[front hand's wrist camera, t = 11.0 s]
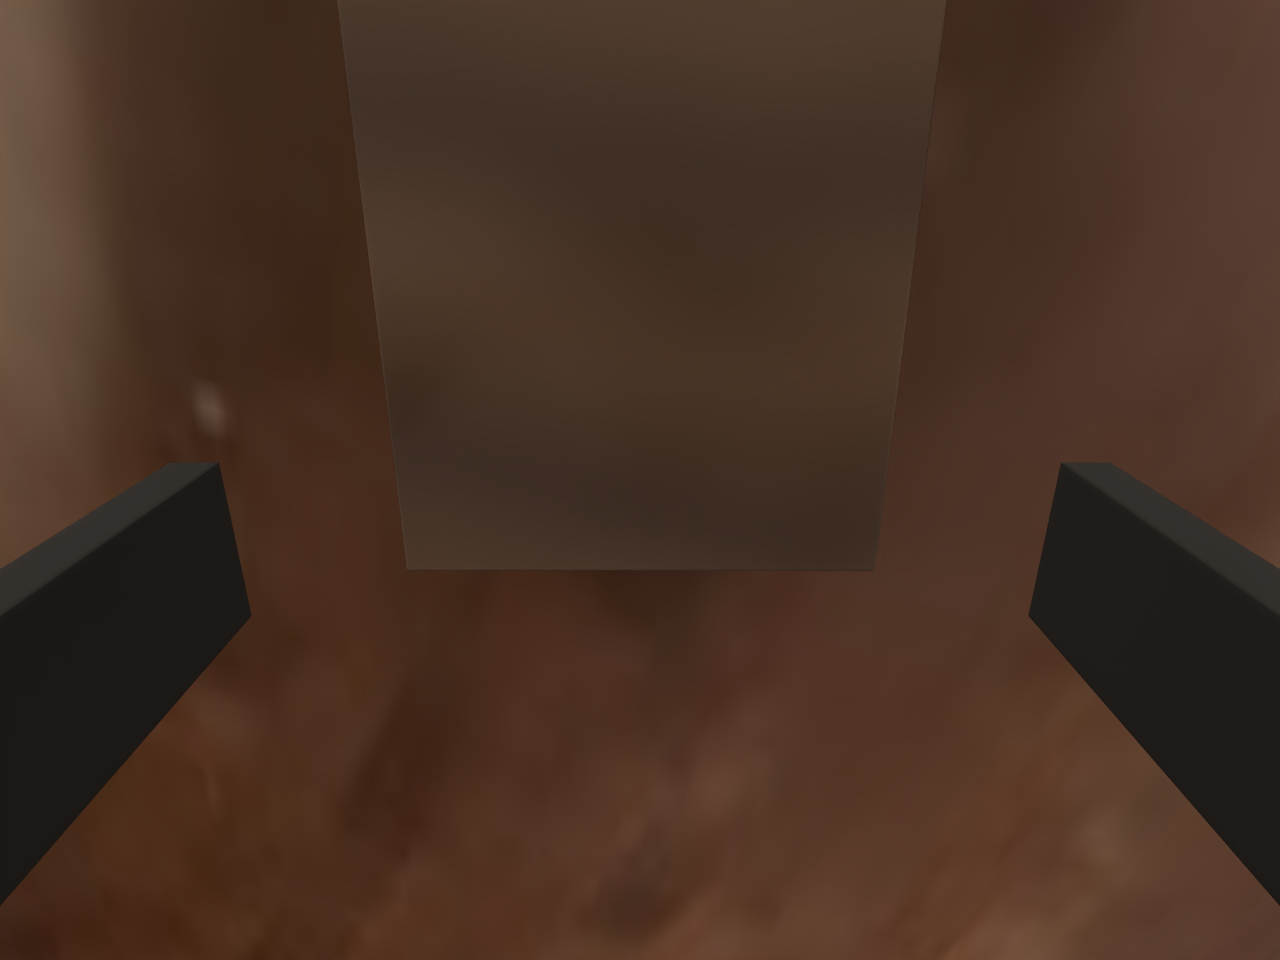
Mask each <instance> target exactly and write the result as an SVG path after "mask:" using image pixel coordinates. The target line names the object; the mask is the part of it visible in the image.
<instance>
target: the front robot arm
mask: <svg viewBox="0 0 1280 960" xmlns="http://www.w3.org/2000/svg"><path fill="white" fill-rule="evenodd" d="M250 617H251V611H250V607H249V602H248V597H247V593H246V588H245V583H244V579H243V574H242V569H241V564H240V560H239V555H238V550H237V546H236V541H235V536H234V532H233V527H232V522H231V517H230V513H229V508H228V503H227V499H226V494H225V489H224V485H223V480H222V475H221V471H220V466H219V463H169V464H167V465H165V466H164V467H162V468H161V469H159V470H158V471H156V472H154V473H153V474H151V475H150V476H148V477H146V478H145V479H143V480H142V481H140V482H138V483H137V484H135V485H134V486H132V487H130V488H129V489H127V490H126V491H124V492H123V493H121V494H119V495H118V496H116V497H115V498H113V499H111V500H110V501H108V502H107V503H105V504H103V505H102V506H100V507H99V508H97V509H95V510H94V511H92V512H91V513H89V514H88V515H86V516H84V517H83V518H81V519H80V520H78V521H76V522H75V523H73V524H72V525H70V526H68V527H67V528H65V529H64V530H62V531H60V532H59V533H57V534H56V535H54V536H53V537H51V538H49V539H48V540H46V541H45V542H43V543H41V544H40V545H38V546H37V547H35V548H33V549H32V550H30V551H29V552H27V553H26V554H24V555H22V556H21V557H19V558H18V559H16V560H14V561H13V562H11V563H10V564H8V565H6V566H5V567H3V568H2V569H0V905H1V904H2V903H3V902H4V901H5V900H6V899H7V897H8V896H9V895H10V894H11V893H12V892H13V890H14V889H15V888H16V887H17V886H18V885H19V884H20V882H21V881H22V880H23V879H24V878H25V877H26V875H27V874H28V873H29V872H30V871H31V870H32V869H33V867H34V866H35V865H36V864H37V863H38V862H39V860H40V859H41V858H42V857H43V856H44V855H45V853H46V852H47V851H48V850H49V849H50V848H51V847H52V845H53V844H54V843H55V842H56V841H57V840H58V838H59V837H60V836H61V835H62V834H63V833H64V832H65V830H66V829H67V828H68V827H69V826H70V825H71V823H72V822H73V821H74V820H75V819H76V818H77V817H78V815H79V814H80V813H81V812H82V811H83V810H84V808H85V807H86V806H87V805H88V804H89V803H90V802H91V800H92V799H93V798H94V797H95V796H96V795H97V793H98V792H99V791H100V790H101V789H102V788H103V787H104V785H105V784H106V783H107V782H108V781H109V780H110V778H111V777H112V776H113V775H114V774H115V773H116V772H117V770H118V769H119V768H120V767H121V766H122V765H123V763H124V762H125V761H126V760H127V759H128V758H129V757H130V755H131V754H132V753H133V752H134V751H135V750H136V748H137V747H138V746H139V745H140V744H141V743H142V742H143V740H144V739H145V738H146V737H147V736H148V735H149V733H150V732H151V731H152V730H153V729H154V728H155V727H156V725H157V724H158V723H159V722H160V721H161V720H162V718H163V717H164V716H165V715H166V714H167V713H168V711H169V710H170V709H171V708H172V707H173V706H174V705H175V703H176V702H177V701H178V700H179V699H180V698H181V696H182V695H183V694H184V693H185V692H186V691H187V690H188V688H189V687H190V686H191V685H192V684H193V683H194V681H195V680H196V679H197V678H198V677H199V676H200V675H201V673H202V672H203V671H204V670H205V669H206V668H207V666H208V665H209V664H210V663H211V662H212V661H213V660H214V658H215V657H216V656H217V655H218V654H219V653H220V651H221V650H222V649H223V648H224V647H225V646H226V645H227V643H228V642H229V641H230V640H231V639H232V638H233V636H234V635H235V634H236V633H237V632H238V631H239V630H240V628H241V627H242V626H243V625H244V624H245V623H246V621H247V620H248V619H249V618H250ZM1029 617H1030V618H1031V619H1032V620H1033V621H1034V623H1035V624H1036V625H1037V626H1038V627H1039V628H1040V630H1041V631H1042V632H1043V633H1044V634H1045V635H1046V636H1047V638H1048V639H1049V640H1050V641H1051V642H1052V643H1053V645H1054V646H1055V647H1056V648H1057V649H1058V650H1059V651H1060V653H1061V654H1062V655H1063V656H1064V657H1065V658H1066V660H1067V661H1068V662H1069V663H1070V664H1071V665H1072V666H1073V668H1074V669H1075V670H1076V671H1077V672H1078V673H1079V675H1080V676H1081V677H1082V678H1083V679H1084V680H1085V681H1086V683H1087V684H1088V685H1089V686H1090V687H1091V688H1092V690H1093V691H1094V692H1095V693H1096V694H1097V695H1098V696H1099V698H1100V699H1101V700H1102V701H1103V702H1104V703H1105V705H1106V706H1107V707H1108V708H1109V709H1110V710H1111V711H1112V713H1113V714H1114V715H1115V716H1116V717H1117V718H1118V720H1119V721H1120V722H1121V723H1122V724H1123V725H1124V727H1125V728H1126V729H1127V730H1128V731H1129V732H1130V733H1131V735H1132V736H1133V737H1134V738H1135V739H1136V740H1137V742H1138V743H1139V744H1140V745H1141V746H1142V747H1143V748H1144V750H1145V751H1146V752H1147V753H1148V754H1149V755H1150V757H1151V758H1152V759H1153V760H1154V761H1155V762H1156V763H1157V765H1158V766H1159V767H1160V768H1161V769H1162V770H1163V772H1164V773H1165V774H1166V775H1167V776H1168V777H1169V778H1170V780H1171V781H1172V782H1173V783H1174V784H1175V785H1176V787H1177V788H1178V789H1179V790H1180V791H1181V792H1182V793H1183V795H1184V796H1185V797H1186V798H1187V799H1188V800H1189V802H1190V803H1191V804H1192V805H1193V806H1194V807H1195V808H1196V810H1197V811H1198V812H1199V813H1200V814H1201V815H1202V817H1203V818H1204V819H1205V820H1206V821H1207V822H1208V823H1209V825H1210V826H1211V827H1212V828H1213V829H1214V830H1215V832H1216V833H1217V834H1218V835H1219V836H1220V837H1221V838H1222V840H1223V841H1224V842H1225V843H1226V844H1227V845H1228V847H1229V848H1230V849H1231V850H1232V851H1233V852H1234V853H1235V855H1236V856H1237V857H1238V858H1239V859H1240V860H1241V862H1242V863H1243V864H1244V865H1245V866H1246V867H1247V869H1248V870H1249V871H1250V872H1251V873H1252V874H1253V875H1254V877H1255V878H1256V879H1257V880H1258V881H1259V882H1260V884H1261V885H1262V886H1263V887H1264V888H1265V889H1266V890H1267V892H1268V893H1269V894H1270V895H1271V896H1272V897H1273V899H1274V900H1275V901H1276V902H1277V903H1278V904H1279V905H1280V569H1278V568H1277V567H1275V566H1274V565H1272V564H1270V563H1269V562H1267V561H1266V560H1264V559H1262V558H1261V557H1259V556H1258V555H1256V554H1254V553H1253V552H1251V551H1250V550H1248V549H1247V548H1245V547H1243V546H1242V545H1240V544H1239V543H1237V542H1235V541H1234V540H1232V539H1231V538H1229V537H1227V536H1226V535H1224V534H1223V533H1221V532H1219V531H1218V530H1216V529H1215V528H1213V527H1212V526H1210V525H1208V524H1207V523H1205V522H1204V521H1202V520H1200V519H1199V518H1197V517H1196V516H1194V515H1192V514H1191V513H1189V512H1188V511H1186V510H1185V509H1183V508H1181V507H1180V506H1178V505H1177V504H1175V503H1173V502H1172V501H1170V500H1169V499H1167V498H1165V497H1164V496H1162V495H1161V494H1159V493H1157V492H1156V491H1154V490H1153V489H1151V488H1150V487H1148V486H1146V485H1145V484H1143V483H1142V482H1140V481H1138V480H1137V479H1135V478H1134V477H1132V476H1130V475H1129V474H1127V473H1126V472H1124V471H1122V470H1121V469H1119V468H1118V467H1116V466H1115V465H1113V464H1111V463H1061V466H1060V471H1059V475H1058V480H1057V485H1056V489H1055V494H1054V499H1053V503H1052V508H1051V513H1050V517H1049V522H1048V527H1047V532H1046V536H1045V541H1044V546H1043V550H1042V555H1041V560H1040V564H1039V569H1038V574H1037V579H1036V583H1035V588H1034V593H1033V597H1032V602H1031V607H1030V611H1029Z"/></svg>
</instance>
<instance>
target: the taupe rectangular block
mask: <svg viewBox="0 0 1280 960" xmlns="http://www.w3.org/2000/svg"><path fill="white" fill-rule="evenodd" d="M946 1H947V0H337V4H338V12H339V20H340V28H341V36H342V44H343V52H344V61H345V69H346V77H347V85H348V93H349V101H350V109H351V117H352V126H353V134H354V142H355V150H356V158H357V166H358V174H359V182H360V191H361V199H362V207H363V215H364V223H365V231H366V239H367V247H368V256H369V264H370V272H371V280H372V288H373V296H374V304H375V312H376V321H377V329H378V337H379V345H380V353H381V361H382V369H383V377H384V386H385V394H386V402H387V410H388V418H389V426H390V434H391V442H392V451H393V459H394V467H395V475H396V483H397V491H398V499H399V507H400V516H401V524H402V532H403V540H404V548H405V556H406V564H407V569H408V570H729V571H873V570H875V564H876V556H877V548H878V540H879V533H880V525H881V517H882V509H883V501H884V493H885V485H886V477H887V469H888V461H889V453H890V445H891V437H892V429H893V422H894V414H895V406H896V398H897V390H898V382H899V374H900V366H901V358H902V350H903V342H904V334H905V326H906V318H907V310H908V303H909V295H910V287H911V279H912V271H913V263H914V255H915V247H916V239H917V231H918V223H919V215H920V207H921V199H922V192H923V184H924V176H925V168H926V160H927V152H928V144H929V136H930V128H931V120H932V112H933V104H934V96H935V88H936V81H937V73H938V65H939V57H940V49H941V41H942V33H943V25H944V17H945V9H946Z"/></svg>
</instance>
